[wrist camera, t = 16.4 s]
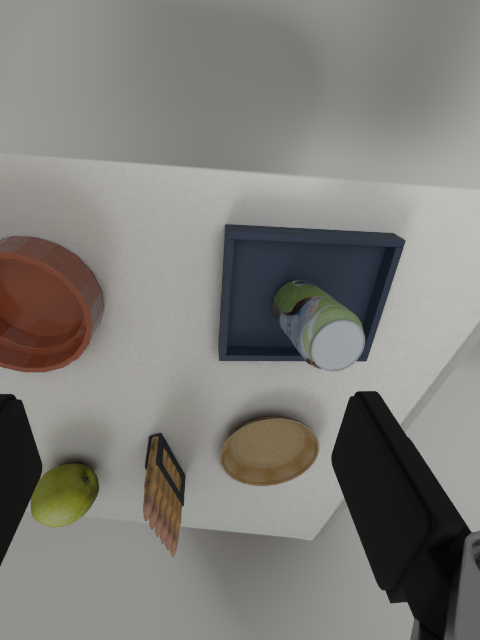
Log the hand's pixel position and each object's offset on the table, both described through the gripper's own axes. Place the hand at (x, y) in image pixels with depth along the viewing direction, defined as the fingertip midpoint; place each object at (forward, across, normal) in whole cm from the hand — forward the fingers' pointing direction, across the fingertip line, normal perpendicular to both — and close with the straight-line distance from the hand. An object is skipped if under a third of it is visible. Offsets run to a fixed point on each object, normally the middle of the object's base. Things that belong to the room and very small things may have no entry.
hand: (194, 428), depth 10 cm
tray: (+28, -12, +9) cm, 32 cm away
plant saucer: (+28, -11, +34) cm, 46 cm away
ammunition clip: (+28, +4, +37) cm, 47 cm away
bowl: (+28, +17, +10) cm, 34 cm away
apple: (+28, +18, +39) cm, 52 cm away
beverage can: (+28, -12, +9) cm, 32 cm away
